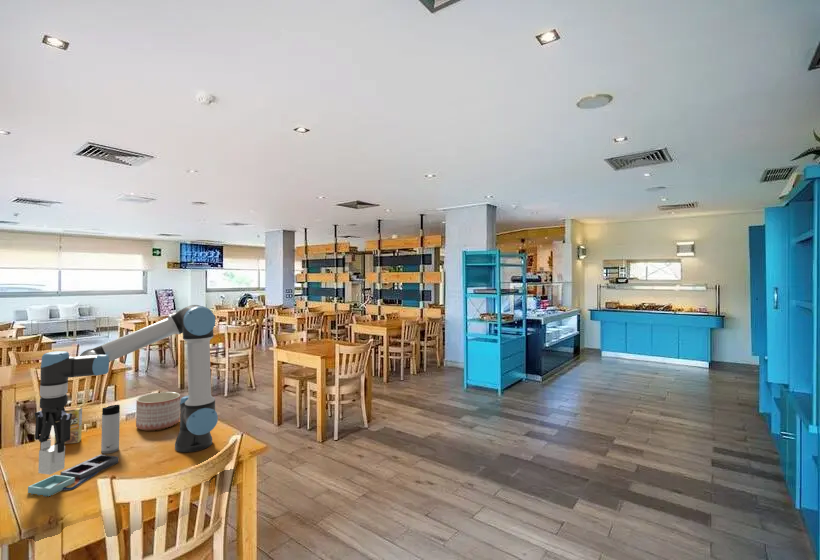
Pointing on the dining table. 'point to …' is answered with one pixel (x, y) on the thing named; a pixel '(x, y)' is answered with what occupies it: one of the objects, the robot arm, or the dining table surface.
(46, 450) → the white rectangular block
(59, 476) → the tray
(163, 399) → the planter
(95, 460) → the black divided organizer
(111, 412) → the travel mug
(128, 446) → the dining table surface
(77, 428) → the candy box
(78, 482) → the smartphone
